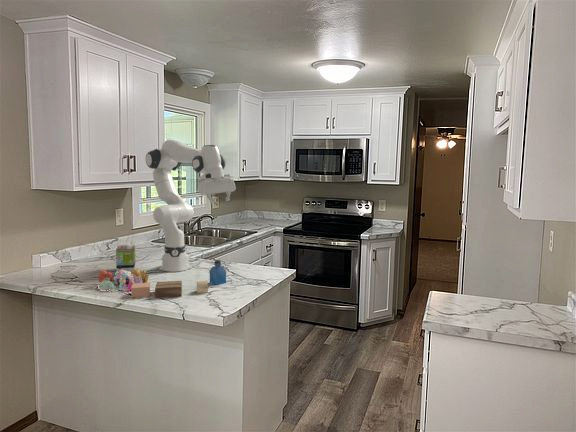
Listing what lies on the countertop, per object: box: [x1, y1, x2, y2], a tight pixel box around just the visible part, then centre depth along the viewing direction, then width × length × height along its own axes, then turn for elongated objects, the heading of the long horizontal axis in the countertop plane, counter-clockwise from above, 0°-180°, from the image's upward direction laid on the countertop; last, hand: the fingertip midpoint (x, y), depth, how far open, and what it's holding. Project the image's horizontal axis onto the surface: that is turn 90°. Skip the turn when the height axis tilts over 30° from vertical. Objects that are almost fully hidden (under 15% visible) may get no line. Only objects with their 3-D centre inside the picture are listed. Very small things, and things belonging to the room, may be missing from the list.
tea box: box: [115, 244, 136, 274], centre depth 261 cm, size 15×10×15 cm, turn 16°
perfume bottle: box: [209, 259, 227, 286], centre depth 237 cm, size 6×6×12 cm
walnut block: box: [154, 280, 183, 299], centre depth 217 cm, size 12×12×5 cm
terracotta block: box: [130, 282, 151, 298], centre depth 214 cm, size 8×8×5 cm
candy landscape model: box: [98, 268, 150, 292], centre depth 229 cm, size 25×24×9 cm
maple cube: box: [196, 280, 209, 294], centre depth 220 cm, size 5×5×5 cm
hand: (220, 201), depth 230 cm, fingers open, 8 cm apart
